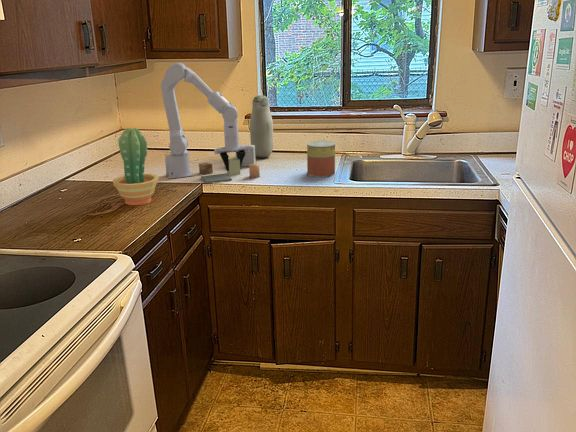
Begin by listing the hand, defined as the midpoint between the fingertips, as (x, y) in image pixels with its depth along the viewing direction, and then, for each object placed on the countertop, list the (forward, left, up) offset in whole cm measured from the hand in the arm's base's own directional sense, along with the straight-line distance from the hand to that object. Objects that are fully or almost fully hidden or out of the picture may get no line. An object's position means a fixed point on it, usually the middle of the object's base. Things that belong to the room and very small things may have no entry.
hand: (233, 169), depth 217 cm
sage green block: (0, 0, -2) cm, 2 cm away
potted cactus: (-41, -22, -2) cm, 47 cm away
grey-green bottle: (+21, +23, -2) cm, 31 cm away
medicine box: (+9, +11, -2) cm, 14 cm away
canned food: (+32, -16, -2) cm, 36 cm away
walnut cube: (-10, +6, -2) cm, 12 cm away
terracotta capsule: (+6, -9, -2) cm, 11 cm away
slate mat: (-9, -6, -2) cm, 11 cm away
